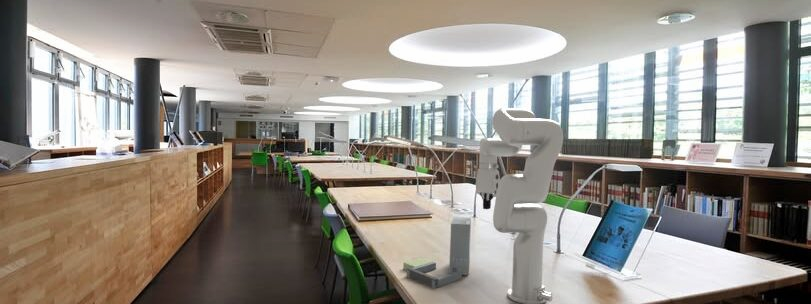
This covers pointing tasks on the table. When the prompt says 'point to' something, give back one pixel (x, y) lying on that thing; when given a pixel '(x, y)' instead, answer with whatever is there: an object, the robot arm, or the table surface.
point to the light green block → (415, 263)
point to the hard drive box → (460, 245)
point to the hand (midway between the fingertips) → (486, 208)
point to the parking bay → (434, 282)
